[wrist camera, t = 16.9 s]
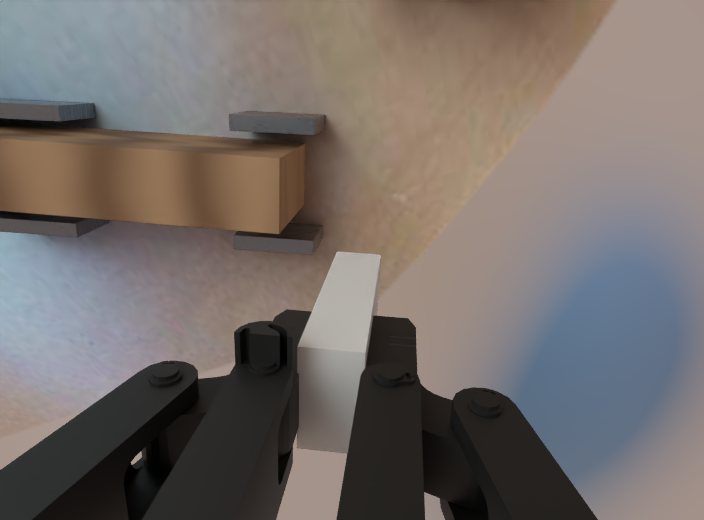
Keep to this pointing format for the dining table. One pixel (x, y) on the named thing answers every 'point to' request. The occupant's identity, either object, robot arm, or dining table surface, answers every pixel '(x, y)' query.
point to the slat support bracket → (41, 223)
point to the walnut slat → (151, 177)
